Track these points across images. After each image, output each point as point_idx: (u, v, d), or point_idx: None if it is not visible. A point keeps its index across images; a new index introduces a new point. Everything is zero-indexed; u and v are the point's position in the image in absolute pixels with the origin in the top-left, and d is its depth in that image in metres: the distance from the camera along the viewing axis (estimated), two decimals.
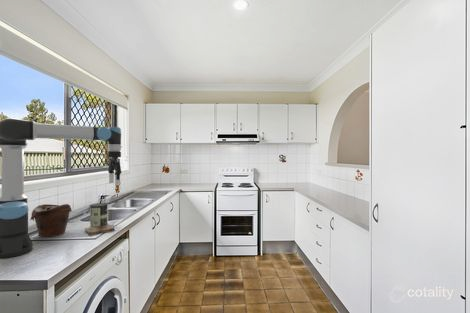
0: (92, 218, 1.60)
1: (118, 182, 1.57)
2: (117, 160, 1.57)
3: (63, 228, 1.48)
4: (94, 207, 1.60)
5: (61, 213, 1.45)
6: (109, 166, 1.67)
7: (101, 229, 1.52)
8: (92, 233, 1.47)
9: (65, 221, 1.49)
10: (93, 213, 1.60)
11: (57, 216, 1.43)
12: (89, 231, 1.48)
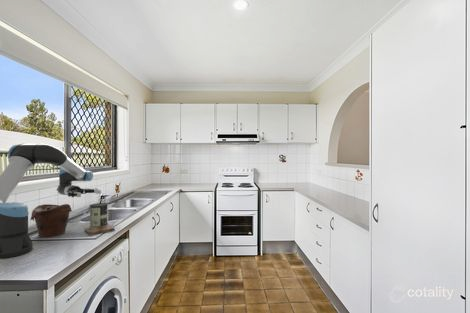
0: (92, 218, 1.60)
1: None
2: None
3: (63, 228, 1.48)
4: (94, 207, 1.60)
5: (61, 213, 1.45)
6: (70, 191, 1.68)
7: (101, 229, 1.52)
8: (92, 233, 1.47)
9: (65, 221, 1.49)
10: (93, 213, 1.60)
11: (57, 216, 1.43)
12: (89, 231, 1.48)
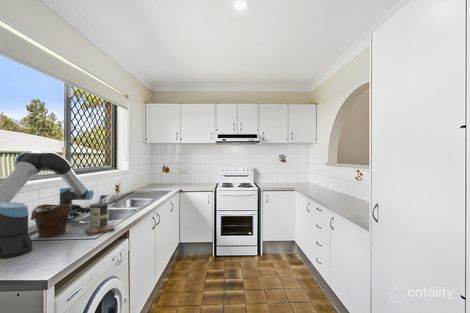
0: (92, 218, 1.60)
1: None
2: None
3: (63, 228, 1.48)
4: (94, 207, 1.60)
5: (61, 213, 1.45)
6: None
7: (101, 229, 1.52)
8: (92, 233, 1.47)
9: (65, 221, 1.49)
10: (93, 213, 1.60)
11: (57, 216, 1.43)
12: (89, 231, 1.48)
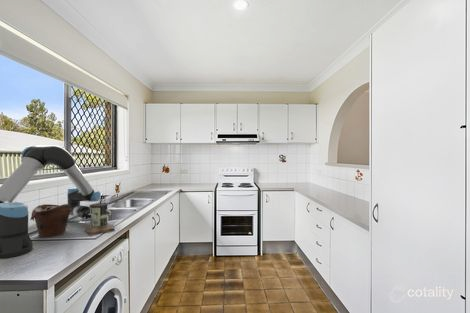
0: None
1: None
2: None
3: (63, 228, 1.48)
4: (94, 207, 1.60)
5: (61, 213, 1.45)
6: (82, 213, 1.62)
7: (101, 229, 1.52)
8: (92, 233, 1.47)
9: (65, 221, 1.49)
10: (93, 213, 1.60)
11: (57, 216, 1.43)
12: (89, 231, 1.48)
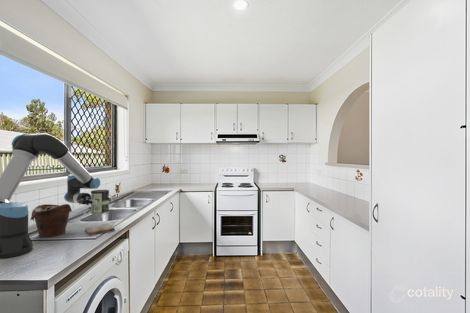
0: None
1: None
2: None
3: (63, 228, 1.48)
4: (95, 193, 1.55)
5: (61, 213, 1.45)
6: (83, 199, 1.58)
7: (101, 229, 1.52)
8: (92, 233, 1.47)
9: (65, 221, 1.49)
10: (94, 199, 1.56)
11: (57, 216, 1.43)
12: (89, 231, 1.48)
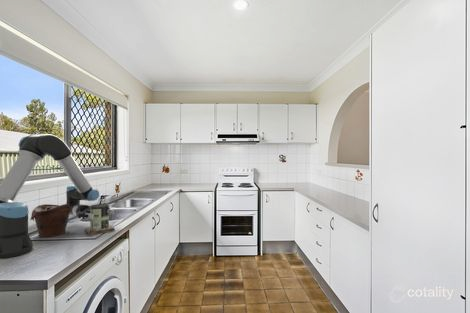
0: (92, 220, 1.50)
1: None
2: None
3: (63, 228, 1.48)
4: (95, 208, 1.49)
5: (61, 213, 1.45)
6: (80, 212, 1.52)
7: None
8: (92, 233, 1.47)
9: (65, 221, 1.49)
10: (93, 215, 1.49)
11: (57, 216, 1.43)
12: (89, 231, 1.48)
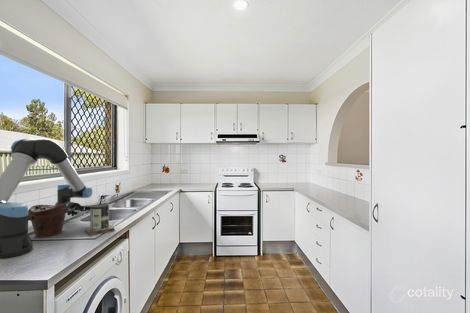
0: (92, 220, 1.50)
1: None
2: None
3: (61, 227, 1.50)
4: (95, 208, 1.49)
5: (61, 212, 1.47)
6: (69, 209, 1.57)
7: None
8: (92, 233, 1.47)
9: (63, 220, 1.51)
10: (93, 215, 1.49)
11: (58, 215, 1.45)
12: (89, 231, 1.48)
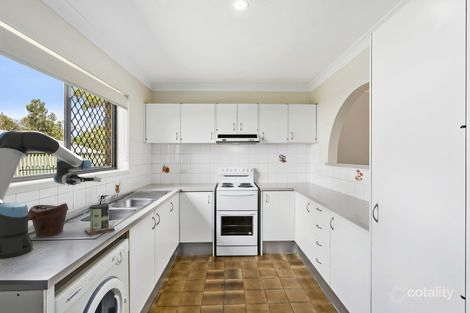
0: (92, 220, 1.50)
1: None
2: None
3: (62, 227, 1.51)
4: (95, 208, 1.49)
5: (62, 212, 1.48)
6: None
7: None
8: (92, 233, 1.47)
9: (64, 220, 1.52)
10: (93, 215, 1.49)
11: (59, 215, 1.46)
12: (89, 231, 1.48)
